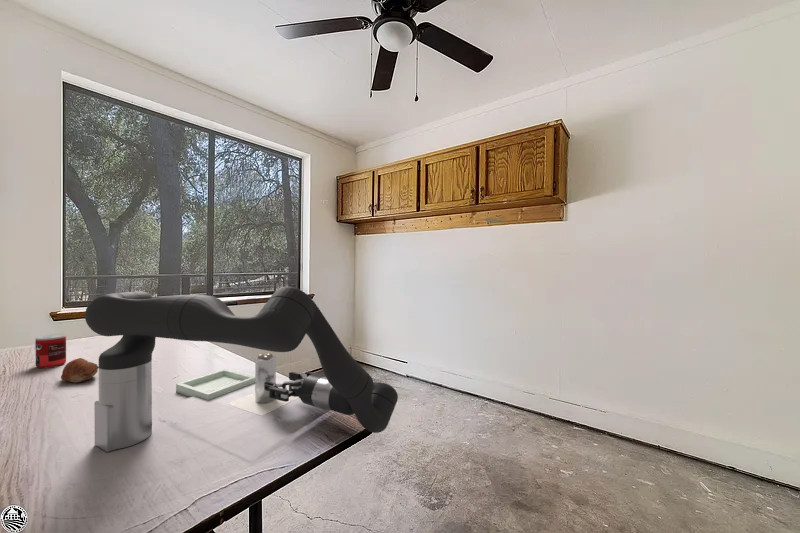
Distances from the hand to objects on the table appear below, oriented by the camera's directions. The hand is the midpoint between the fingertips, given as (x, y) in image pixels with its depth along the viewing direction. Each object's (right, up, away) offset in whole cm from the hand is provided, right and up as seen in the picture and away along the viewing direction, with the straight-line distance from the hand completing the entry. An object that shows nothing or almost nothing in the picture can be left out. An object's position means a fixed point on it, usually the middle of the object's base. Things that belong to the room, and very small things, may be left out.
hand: (278, 380), depth 91 cm
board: (-5, -7, +3) cm, 9 cm away
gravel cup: (-5, -6, +3) cm, 8 cm away
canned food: (-97, -6, +32) cm, 103 cm away
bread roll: (-73, -6, +18) cm, 76 cm away
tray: (-24, -7, +13) cm, 28 cm away
